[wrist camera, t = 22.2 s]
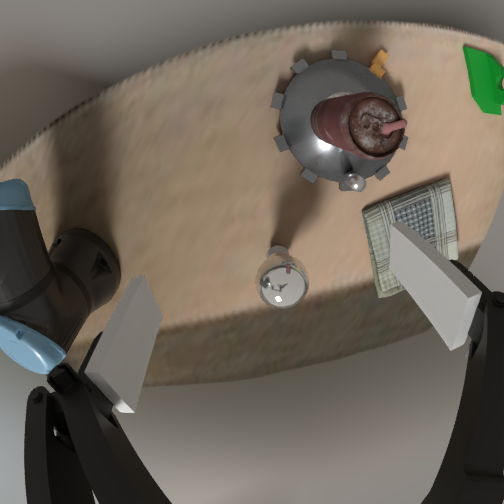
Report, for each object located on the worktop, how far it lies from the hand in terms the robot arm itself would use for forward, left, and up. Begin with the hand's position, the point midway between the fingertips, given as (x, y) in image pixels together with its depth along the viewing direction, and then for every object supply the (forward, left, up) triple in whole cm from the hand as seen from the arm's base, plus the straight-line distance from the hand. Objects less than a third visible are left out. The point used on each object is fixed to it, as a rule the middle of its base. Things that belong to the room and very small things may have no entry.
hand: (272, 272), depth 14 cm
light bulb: (+8, -10, -27) cm, 30 cm away
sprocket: (+7, +12, -25) cm, 29 cm away
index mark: (+8, +23, -27) cm, 36 cm away
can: (+5, +11, -24) cm, 27 cm away
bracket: (+27, +36, -27) cm, 52 cm away
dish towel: (+29, +2, -27) cm, 40 cm away
